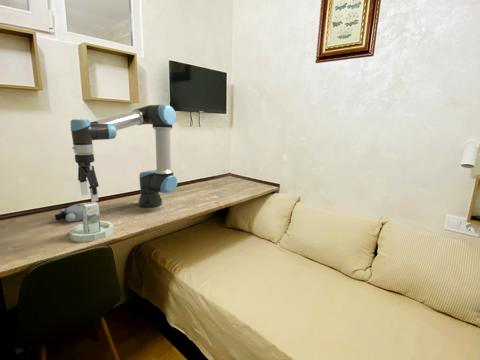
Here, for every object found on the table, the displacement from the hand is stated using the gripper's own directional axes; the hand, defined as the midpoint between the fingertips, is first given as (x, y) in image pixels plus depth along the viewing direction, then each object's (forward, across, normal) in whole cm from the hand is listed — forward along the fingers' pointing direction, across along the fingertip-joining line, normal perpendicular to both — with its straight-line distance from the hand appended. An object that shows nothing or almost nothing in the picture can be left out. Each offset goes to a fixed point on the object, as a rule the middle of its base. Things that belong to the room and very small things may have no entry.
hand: (89, 198), depth 120 cm
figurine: (+18, -28, 0) cm, 33 cm away
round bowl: (+18, 0, -1) cm, 18 cm away
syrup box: (+17, 0, -1) cm, 17 cm away
